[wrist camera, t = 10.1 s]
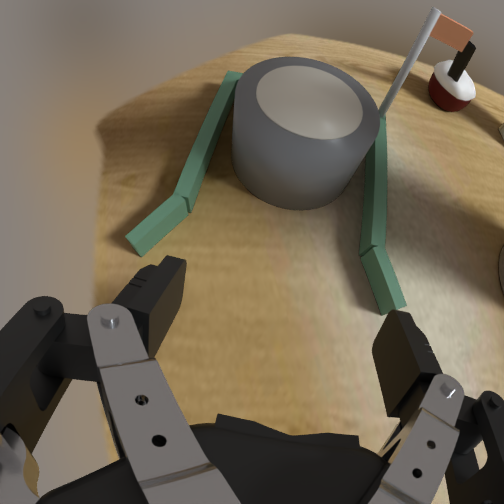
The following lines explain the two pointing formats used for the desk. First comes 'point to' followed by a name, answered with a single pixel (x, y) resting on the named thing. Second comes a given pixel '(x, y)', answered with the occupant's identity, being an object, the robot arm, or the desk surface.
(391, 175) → the desk surface
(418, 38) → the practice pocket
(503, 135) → the skincare box
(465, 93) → the cocoa
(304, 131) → the grey cylinder
